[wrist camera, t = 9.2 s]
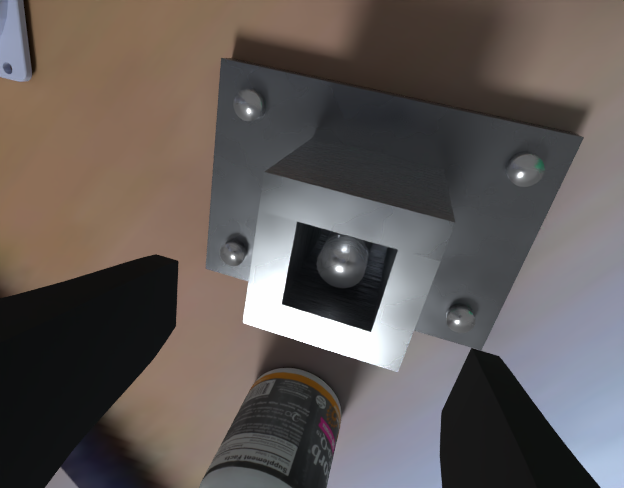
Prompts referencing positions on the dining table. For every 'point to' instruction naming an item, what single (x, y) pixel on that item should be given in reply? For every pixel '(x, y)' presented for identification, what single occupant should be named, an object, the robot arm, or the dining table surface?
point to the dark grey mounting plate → (403, 144)
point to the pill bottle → (279, 435)
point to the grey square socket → (356, 223)
